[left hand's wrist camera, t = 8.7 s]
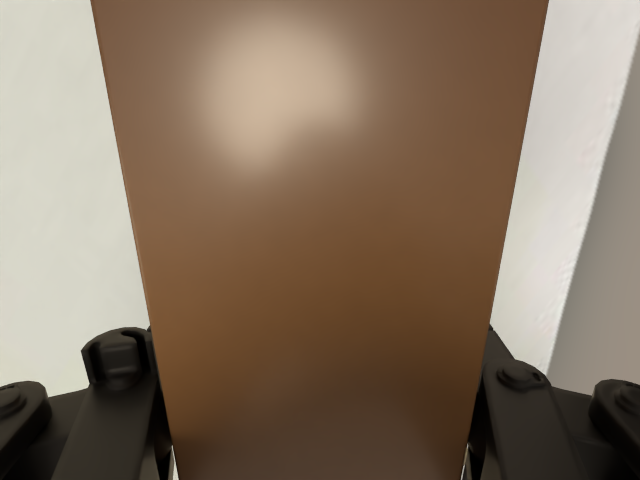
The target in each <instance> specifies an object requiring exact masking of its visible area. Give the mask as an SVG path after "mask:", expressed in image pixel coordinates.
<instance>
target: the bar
mask: <svg viewBox="0 0 640 480" xmlns="http://www.w3.org/2000/svg"><path fill="white" fill-rule="evenodd" d="M90 1H91V6H92V12H93V17H94V22H95V28H96V33H97V39H98V44H99V50H100V55H101V60H102V66H103V71H104V77H105V82H106V88H107V93H108V98H109V104H110V109H111V115H112V120H113V125H114V131H115V136H116V142H117V147H118V153H119V158H120V163H121V169H122V174H123V180H124V185H125V191H126V196H127V201H128V207H129V212H130V218H131V223H132V228H133V234H134V239H135V245H136V250H137V256H138V261H139V266H140V272H141V277H142V283H143V288H144V293H145V299H146V304H147V310H148V315H149V321H150V326H151V331H152V337H153V342H154V348H155V353H156V359H157V364H158V369H159V375H160V380H161V386H162V391H163V396H164V402H165V407H166V413H167V418H168V424H169V429H170V434H171V440H172V445H173V451H174V456H175V462H176V467H177V472H178V478H179V480H461V475H462V470H463V464H464V459H465V454H466V448H467V443H468V437H469V432H470V426H471V421H472V416H473V410H474V405H475V399H476V394H477V388H478V383H479V377H480V372H481V367H482V361H483V356H484V350H485V345H486V339H487V334H488V329H489V323H490V318H491V312H492V307H493V301H494V296H495V291H496V285H497V280H498V274H499V269H500V263H501V258H502V253H503V247H504V242H505V236H506V231H507V225H508V220H509V215H510V209H511V204H512V198H513V193H514V187H515V182H516V177H517V171H518V166H519V160H520V155H521V149H522V144H523V139H524V133H525V128H526V122H527V117H528V111H529V106H530V101H531V95H532V90H533V84H534V79H535V73H536V68H537V62H538V57H539V52H540V46H541V41H542V35H543V30H544V24H545V19H546V14H547V8H548V3H549V0H90Z"/></svg>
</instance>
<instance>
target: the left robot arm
mask: <svg viewBox="0 0 640 480" xmlns="http://www.w3.org/2000/svg"><path fill="white" fill-rule="evenodd" d="M81 353H82V357H83V361H84V364H85V368H86V372H87V376H88V379H89V383H90V384H89V387H88V388H86V389H83V390H79V391H75V392H71V393H66V394H62V395H57V396H52V397H48V395H47V392H46V389H45V387H44V386H43V385H42V384H40V383H39V382H33V381H23V382H15V383H12V384H8V385H5V386H2V387H0V480H173V471H174V457H173V451H172V440H171V434H170V429H169V424H168V418H167V413H166V407H165V402H164V396H163V391H162V386H161V380H160V375H159V369H158V364H157V359H156V353H155V348H154V342H153V337H152V331H151V326H149V327H148V329H147V331H146V330H145V329H141V328H137V327H124V328H119V329H115V330H110V331H108V332H105V333H103V334H101V335H98V336H96V337H95V338H93V339H92V340H91V341H89V342H88V343H87V344H86V345H85V346H84V347H83V349H82V350H81ZM468 445H469V446H468V451H467V456H466V462H465V467H464V473H463V478H462V480H640V385H638V384H634V383H632V382H628V381H623V380H615V379H609V380H603V381H600V382H599V383H598V384H597V385H595V388H594V391H593V394H592V396H591V395H586V394H581V393H577V392H572V391H568V390H563V389H559V388H556V387H552V386H551V384H550V382H549V381H548V379H547V378H546V376H545V375H544V374H543V373H542V372H540V371H539V370H538V369H536V368H535V367H533V366H531V365H529V364H527V363H525V362H523V361H519V360H515V359H514V357H513V356H512V354H511V353H510V352H509V350H508V349H507V347H506V346H505V345H504V343H503V342H502V340H501V339H500V337H499V336H498V335H497V333H496V332H495V331H493V328H492V326H491V325H490V323H489V329H488V334H487V339H486V345H485V350H484V356H483V361H482V367H481V372H480V377H479V383H478V388H477V394H476V399H475V405H474V410H473V416H472V421H471V426H470V432H469V437H468Z"/></svg>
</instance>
